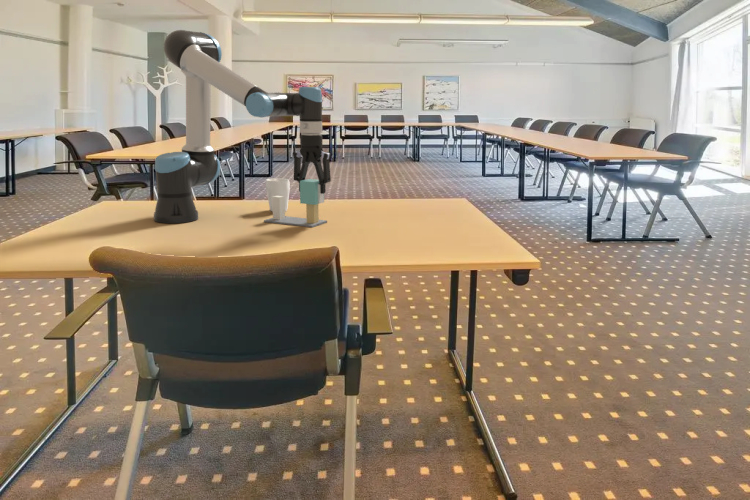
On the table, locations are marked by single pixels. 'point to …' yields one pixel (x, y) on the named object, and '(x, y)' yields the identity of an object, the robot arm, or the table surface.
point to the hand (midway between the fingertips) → (312, 201)
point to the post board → (280, 217)
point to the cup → (278, 190)
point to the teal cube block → (309, 191)
